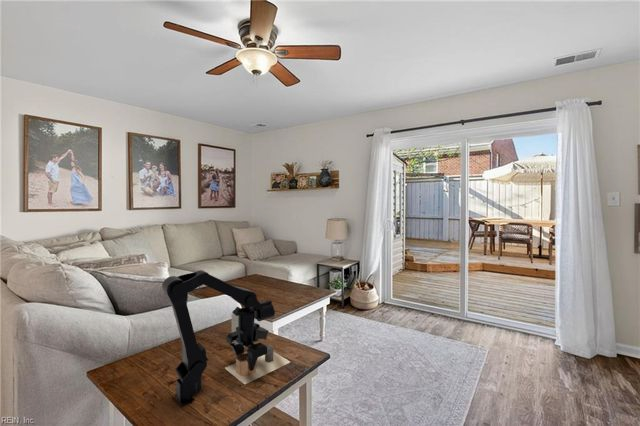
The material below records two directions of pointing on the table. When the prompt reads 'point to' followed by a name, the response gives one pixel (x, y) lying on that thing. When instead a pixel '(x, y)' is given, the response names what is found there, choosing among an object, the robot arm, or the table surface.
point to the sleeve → (243, 365)
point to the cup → (234, 322)
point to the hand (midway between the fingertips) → (246, 366)
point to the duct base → (261, 366)
